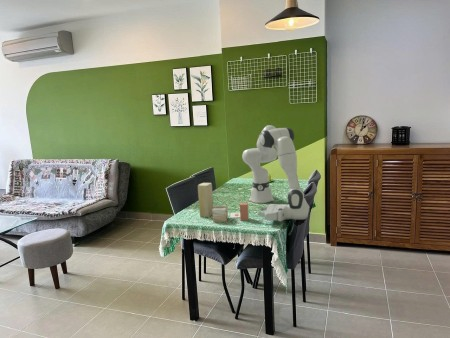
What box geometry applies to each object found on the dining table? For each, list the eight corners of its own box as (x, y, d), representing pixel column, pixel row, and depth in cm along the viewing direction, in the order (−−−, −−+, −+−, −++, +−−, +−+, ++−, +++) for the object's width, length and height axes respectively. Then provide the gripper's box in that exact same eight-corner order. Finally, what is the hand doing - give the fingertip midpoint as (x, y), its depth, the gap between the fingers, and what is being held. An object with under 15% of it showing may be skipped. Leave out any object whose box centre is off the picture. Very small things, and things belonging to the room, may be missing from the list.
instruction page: (230, 212, 224) (230, 212, 224) (242, 212, 223) (242, 211, 223) (230, 217, 214) (230, 217, 214) (243, 217, 214) (243, 216, 214)
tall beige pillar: (204, 212, 227) (201, 182, 223) (214, 213, 224) (212, 182, 220) (198, 216, 220) (196, 185, 216) (209, 217, 217) (206, 185, 213)
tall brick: (241, 218, 212) (240, 202, 211) (248, 218, 212) (247, 202, 210) (240, 220, 208) (239, 204, 206) (247, 220, 207) (247, 204, 206)
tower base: (215, 217, 216) (214, 205, 215) (227, 217, 215) (227, 205, 213) (213, 221, 208) (212, 209, 207) (225, 221, 207) (225, 209, 205)
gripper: (283, 201, 212) (261, 201, 216) (280, 212, 193) (256, 211, 197) (283, 211, 214) (261, 210, 217) (280, 222, 194) (256, 221, 198)
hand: (259, 211), depth 207 cm, fingers open, 8 cm apart
